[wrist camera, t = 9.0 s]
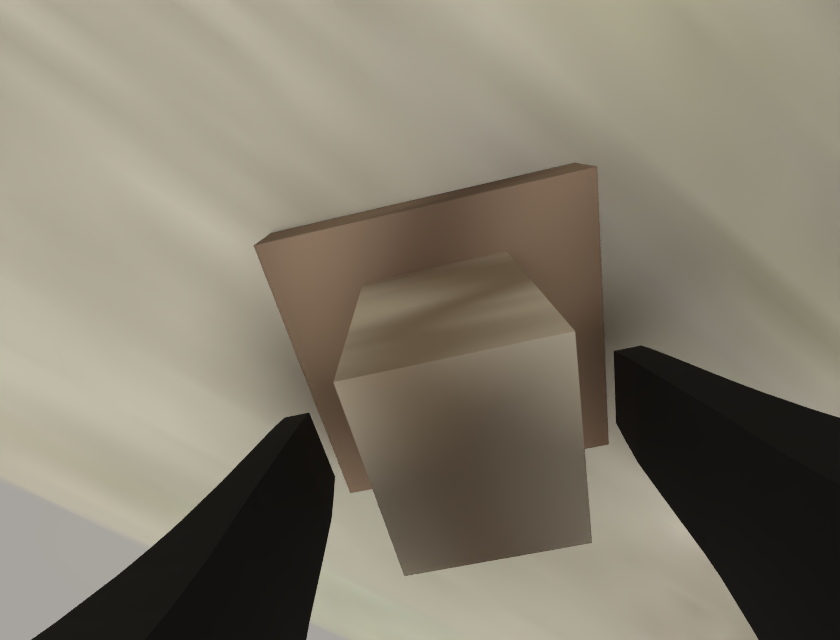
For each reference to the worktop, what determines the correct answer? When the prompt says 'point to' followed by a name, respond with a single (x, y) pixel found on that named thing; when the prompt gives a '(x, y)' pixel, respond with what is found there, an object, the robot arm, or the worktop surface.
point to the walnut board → (436, 246)
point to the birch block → (467, 414)
